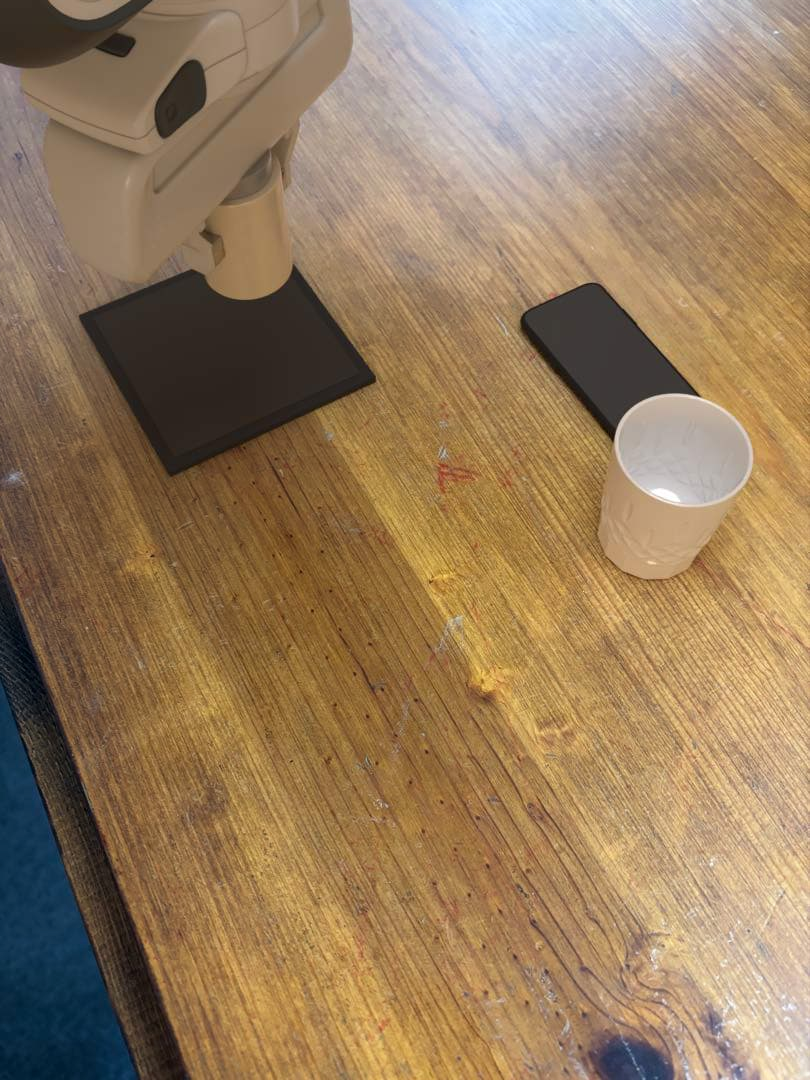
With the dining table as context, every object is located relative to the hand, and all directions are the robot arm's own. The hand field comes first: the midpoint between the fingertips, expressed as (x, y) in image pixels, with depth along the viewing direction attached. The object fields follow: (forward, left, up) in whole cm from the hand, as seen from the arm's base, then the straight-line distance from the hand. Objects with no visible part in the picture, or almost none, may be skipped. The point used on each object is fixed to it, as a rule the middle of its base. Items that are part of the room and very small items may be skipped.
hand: (239, 226), depth 59 cm
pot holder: (0, +7, -18) cm, 19 cm away
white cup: (+17, -21, -18) cm, 32 cm away
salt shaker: (0, 0, -3) cm, 3 cm away
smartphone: (+23, -9, -18) cm, 30 cm away
